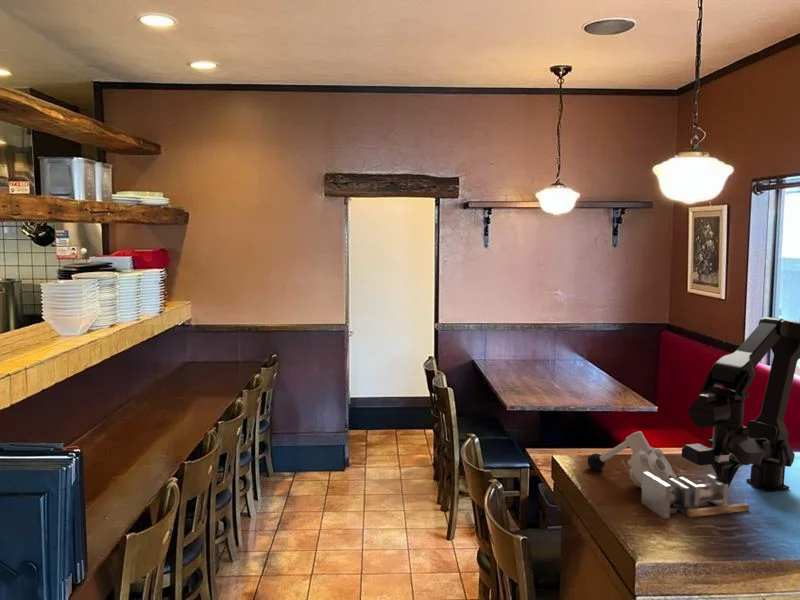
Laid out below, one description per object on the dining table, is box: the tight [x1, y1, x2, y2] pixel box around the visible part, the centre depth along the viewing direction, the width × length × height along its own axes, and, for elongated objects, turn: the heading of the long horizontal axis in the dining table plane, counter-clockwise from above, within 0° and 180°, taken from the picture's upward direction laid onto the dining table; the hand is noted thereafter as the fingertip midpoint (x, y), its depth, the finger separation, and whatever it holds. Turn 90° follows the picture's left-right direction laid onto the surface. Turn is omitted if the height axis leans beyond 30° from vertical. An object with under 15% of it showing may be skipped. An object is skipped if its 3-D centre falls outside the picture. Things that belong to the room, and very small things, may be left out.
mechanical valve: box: [587, 430, 678, 490], centre depth 154 cm, size 10×18×15 cm
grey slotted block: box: [678, 474, 729, 509], centre depth 141 cm, size 8×6×6 cm
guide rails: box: [686, 502, 750, 518], centre depth 141 cm, size 14×9×1 cm, turn 103°
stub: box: [640, 472, 690, 520], centre depth 138 cm, size 7×8×7 cm
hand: (724, 489), depth 142 cm, fingers closed
